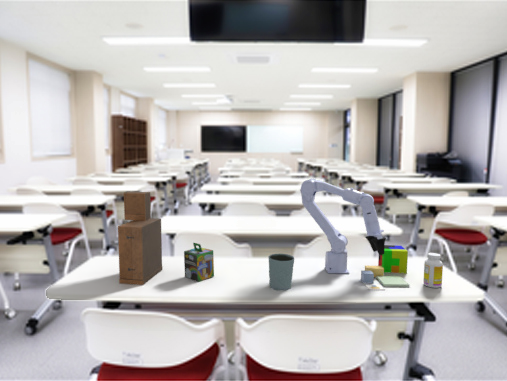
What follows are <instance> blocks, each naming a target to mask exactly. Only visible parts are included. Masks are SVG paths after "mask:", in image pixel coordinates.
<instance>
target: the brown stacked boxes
mask: <svg viewBox="0 0 507 381" xmlns="http://www.w3.org/2000/svg"><path fill="white" fill-rule="evenodd" d="M123 206H124V207H123V209H124V210H123V211H124V212H123V213H124V221H128V222H126V223H124V224H120V225H117V236H118V237H117V239H118V244H117V245H118V267H119V268H118V269H119V270H118V271H119V273H118V274H119V279H118V282H119V284H121V285H123V284H124V285H139V286H144V285H146V284H147V283H148V282H149V281H150V280H152V279H153V278H154V277H155V276H157V275H158V274H159V273H161V272H162V271H163V253H162V252H163V251H162V250H163V247H162V244H163V242H162V240H163V238H162V218H157V217H156V218H152V214H151V213H152V211H151V192H150V191H127V192H123Z"/></svg>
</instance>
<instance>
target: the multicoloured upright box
mask: <svg viewBox="0 0 507 381" xmlns="http://www.w3.org/2000/svg"><path fill="white" fill-rule="evenodd" d="M192 244H193V247H194V248H191V249H188V250H184V252H183V254H184V255H183V260H184V262H183V265H184V278H186V279H189V280H192V281H194V282H197V283H199V282H202V281H205V280H208V279H210V278H212V277H213V278H214V277H215V263H214V262H215V261H214V250H213V249H209V248H205V247H202V245H201V243H196V242H193V243H192Z"/></svg>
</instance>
